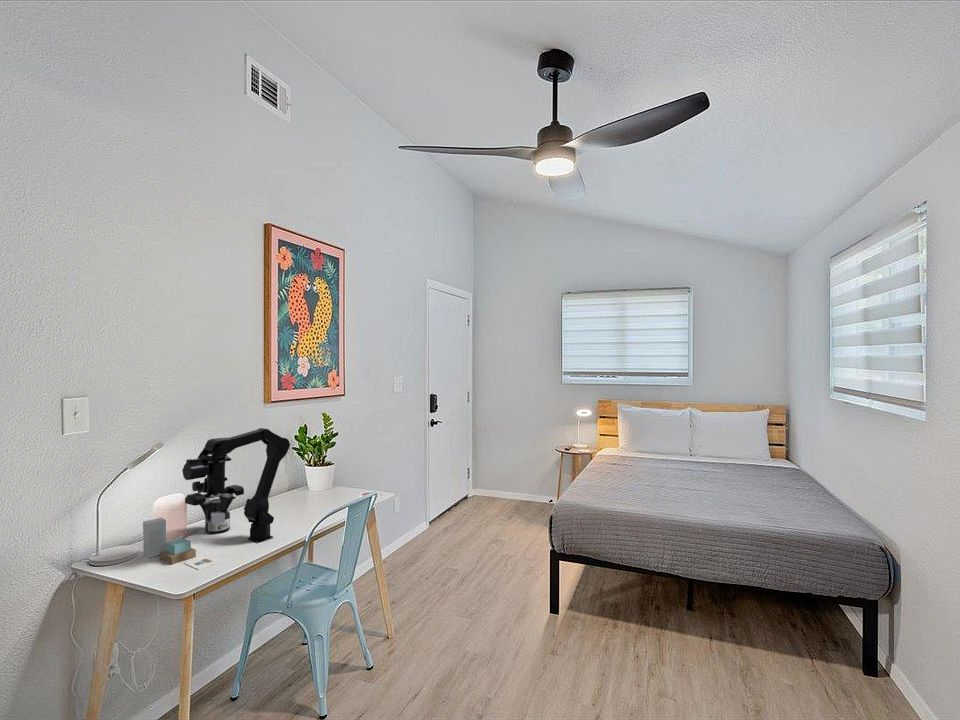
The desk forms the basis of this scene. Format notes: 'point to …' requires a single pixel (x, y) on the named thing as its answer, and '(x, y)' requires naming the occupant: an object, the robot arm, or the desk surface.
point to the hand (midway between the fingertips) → (215, 519)
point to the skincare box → (154, 537)
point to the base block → (177, 556)
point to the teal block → (178, 546)
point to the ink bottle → (220, 526)
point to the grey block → (216, 518)
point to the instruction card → (201, 563)
